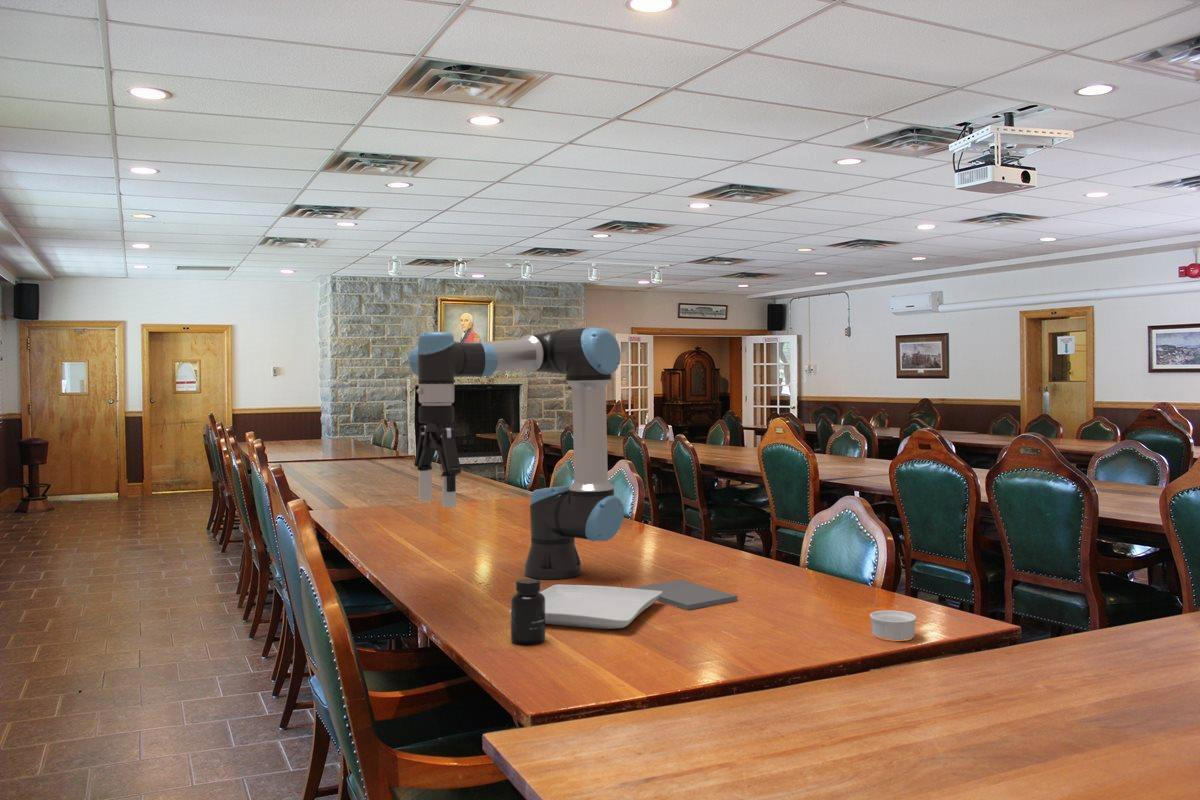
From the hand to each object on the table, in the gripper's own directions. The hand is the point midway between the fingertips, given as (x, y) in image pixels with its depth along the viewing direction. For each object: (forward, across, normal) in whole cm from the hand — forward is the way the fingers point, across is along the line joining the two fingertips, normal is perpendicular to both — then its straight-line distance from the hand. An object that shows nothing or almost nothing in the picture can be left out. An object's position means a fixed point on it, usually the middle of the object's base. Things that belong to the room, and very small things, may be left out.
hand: (437, 503), depth 195 cm
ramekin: (+25, +61, +72) cm, 98 cm away
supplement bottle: (+26, +23, +10) cm, 36 cm away
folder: (+25, +11, +57) cm, 64 cm away
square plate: (+26, +12, +30) cm, 42 cm away
